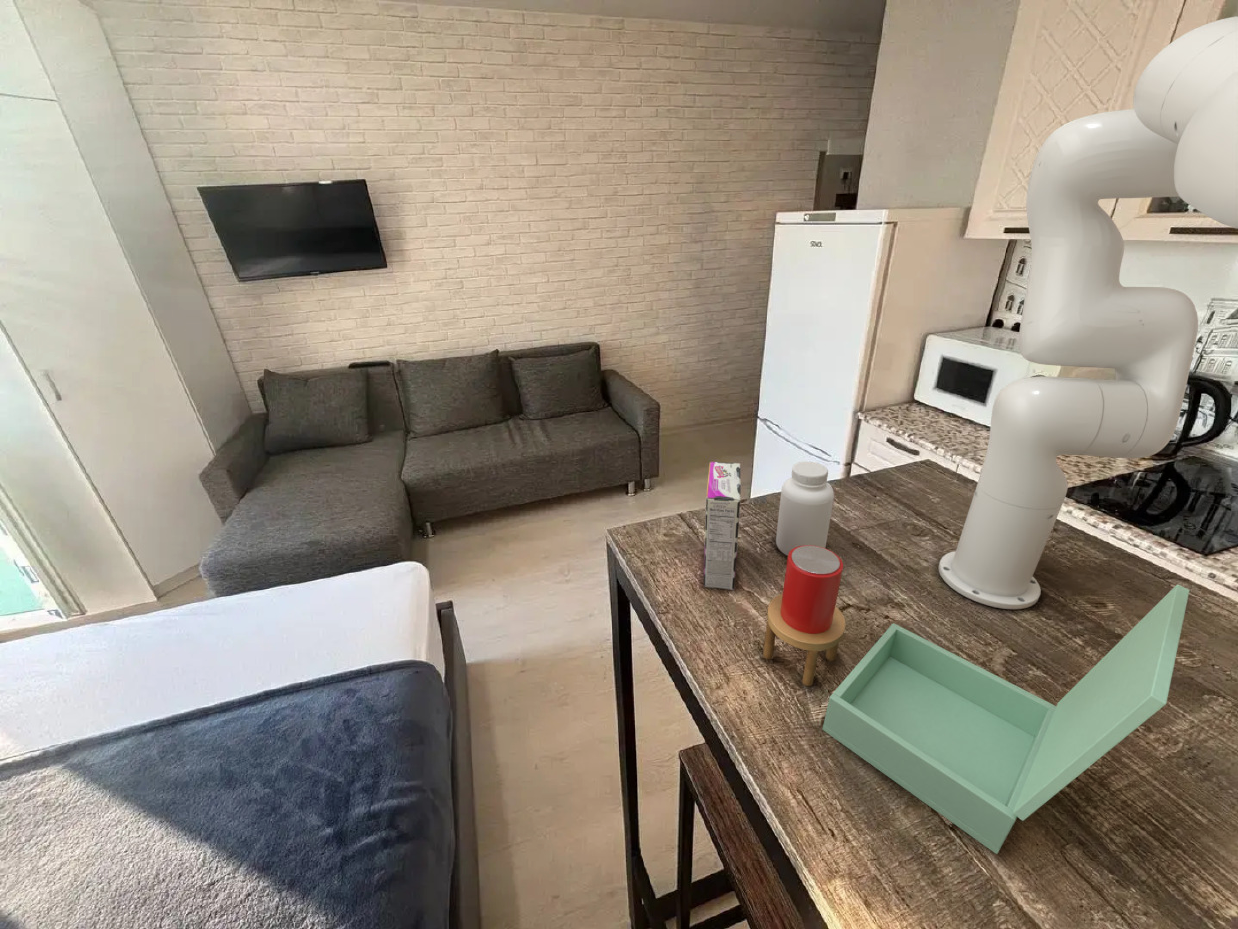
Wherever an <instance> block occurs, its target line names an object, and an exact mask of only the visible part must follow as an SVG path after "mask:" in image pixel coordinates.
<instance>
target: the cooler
mask: <svg viewBox="0 0 1238 929" xmlns="http://www.w3.org/2000/svg"><path fill="white" fill-rule="evenodd" d="M1056 706H1057V705H1054V704H1052V703H1051V702H1049V701H1047V700H1045V699H1043V698H1041V697H1039V696H1037V695H1035V694H1033V693H1031V692H1029V691H1027V690H1025V689H1023V688H1021V687H1019V686H1017V685H1015V684H1013V683H1012V682H1010V681H1008V680H1006V679H1004V678H1002V677H1000V676H998V675H996V674H994V673H992V672H989V671H988V670H987V669H984V668H982V667H980V666H979V665H977V664H974V663H972V662H970V661H969V660H966V659H964V658H963V657H961V656H960V655H959V656H958V655H957V654H955V653H953V652H952V651H949V650H947V649H945V648H943V647H941V646H939V645H937V644H935V643H933V642H931V641H929V640H927V639H926V638H923V637H921V636H920V635H918V634H916V633H914V632H912V631H910V630H908V629H906V628H904V627H902V626H901V625H898V624H896V623H894V622H893V623H891V625H890V626H889V627H888V628H887V629H886V631H885V632H884V633H883V634H882V635H881V636H880V638H879V639H878V640H877V641H876V642H875V643H874V645H873V646H872V647H870V649H869V650H868V652H867V653H866V654H864V656H863V657H862V658H861V659H860V660H859V662H858V663H857V664H856V665H855V666H854V667H853V669H852V670H851V672H850V673H849V674H848V675H847V676H846V677H845V679H843V680H842V682H841V683H840V684H839V685H838V686H837V688H836V689H835V690H834V691H833V692H832V693H831V694H830V696H829V698H828V702H827V707H826V711H825V717H824V720H823V725H822V731H824V732H825V733H826V734H827V735H829V736H831V737H832V738H833V739H834V740H836V741H838V742H839V743H840V744H842V745H843V746H844V747H846V748H847V749H849V750H850V751H851V752H853V753H854V754H856V755H857V756H858V757H860V758H862V759H863V760H864V761H865V762H867V763H868V764H870V765H871V766H872V767H874V768H875V769H876V770H878V771H880V772H881V774H884V775H885V776H886V777H888V778H889V779H891V780H892V781H894V782H895V783H896V784H897V785H899V786H900V787H902V788H903V789H904V790H906V791H907V792H908V793H910V794H912V795H913V796H914V797H916V798H917V799H918V800H920V801H921V802H923V803H924V804H925V805H927V806H928V807H930V808H931V809H932V810H934V811H935V812H937V813H938V814H940V815H941V816H942V817H943V818H945V819H946V820H947V821H949V822H950V823H952V824H954V825H955V826H956V827H958V828H959V829H960V830H962V831H963V832H965V833H966V834H967V835H969V836H970V837H972V838H973V839H974V840H976V841H977V842H979V843H980V844H981V845H983V846H984V847H986V849H989V850H990V851H991V852H993V853H994V854H995V855H998V854H999V852H1000V850H1001V848H1002V846H1003V845H1004V843H1005V841H1006V839H1007V837H1008V836H1009V833H1010V832H1011V830H1012V829H1013V826H1014V825H1015V822H1016V821H1017V818H1018V817H1017V816H1016V815H1014V814H1013V811H1014V808H1015V806H1016V803H1017V801H1018V799H1019V796H1020V794H1021V791H1022V789H1023V786H1024V784H1025V782H1026V779H1027V777H1028V774H1029V772H1030V770H1031V767H1032V765H1033V762H1034V760H1035V757H1036V755H1037V753H1038V750H1039V748H1040V745H1041V743H1042V740H1043V738H1044V736H1045V733H1046V731H1047V728H1048V726H1049V723H1050V721H1051V719H1052V716H1053V714H1054V711H1055V709H1056Z"/></svg>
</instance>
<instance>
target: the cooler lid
mask: <svg viewBox="0 0 1238 929" xmlns="http://www.w3.org/2000/svg"><path fill="white" fill-rule="evenodd" d="M1189 594H1190V589H1189V588H1186V587H1184V586H1182V585H1180V584H1176V585H1174V587H1172V589H1171V590H1169V592H1168V593H1167V594H1166V595H1165V596H1164V597H1163V598H1161V600H1160V601H1159V602H1158V603H1156V605H1155V606H1153V608H1151V610H1150V611H1149V612H1148V613H1147V614H1145V615H1144V617H1142V618H1141V619H1140V620H1139V622H1138V623H1136V625H1134V626H1133V628H1131V629H1130V631H1128V632H1127V634H1125V636H1124V637H1122V638H1121V639H1120V640H1119V642H1117V643H1116V644H1115V645H1114V646H1113V647H1112V648H1111V649H1110V650H1109V652H1107V653H1106V654H1105V655H1104V657H1102V658H1101V659H1100V660H1099V661H1098V662H1097V663H1096V664H1095V665H1094V666H1093V667H1092V668H1091V669H1090V670H1089V671H1088V672H1087V673H1086V674H1085V675H1084V676H1083V677H1082V678H1081V679H1080V680H1079V681H1078V682H1077V683H1076V684H1075V685H1074V686H1073V687H1072V688H1071V689H1070V690H1069V691H1068V692H1067V693H1066V694H1065V695H1064V696H1063V697H1062V698H1061V699H1060V700H1059V701H1058V702H1057V703H1056V705H1055V706H1056V709H1055V711H1054V714H1053V716H1052V719H1051V721H1050V723H1049V726H1048V728H1047V731H1046V733H1045V736H1044V738H1043V740H1042V743H1041V745H1040V748H1039V750H1038V753H1037V755H1036V757H1035V760H1034V762H1033V765H1032V767H1031V770H1030V772H1029V774H1028V777H1027V779H1026V782H1025V784H1024V786H1023V789H1022V791H1021V794H1020V796H1019V799H1018V801H1017V803H1016V806H1015V808H1014V811H1013V814H1014V815H1016V816H1017V818H1018V819H1019V820H1021V822H1025V820H1026V819H1027V818H1029V817H1030V816H1031V815H1033V814H1034V813H1035V812H1036V811H1037V810H1038V809H1040V808H1041V807H1043V805H1045V804H1046V803H1047V802H1049V800H1050V799H1052V798H1054V797H1055V796H1056V795H1057V794H1058V793H1060V792H1061V791H1062V790H1063V789H1064V788H1065V787H1067V786H1068V785H1069V784H1070V783H1072V782H1073V781H1074V780H1075V779H1076V778H1078V777H1079V776H1080V775H1082V774H1083V773H1084V772H1085V771H1086V770H1088V769H1089V768H1090V767H1091V766H1092V765H1093V764H1095V763H1097V761H1099V760H1100V759H1101V758H1102V757H1104V756H1105V755H1106V754H1107V753H1108V752H1110V751H1111V750H1112V749H1113V748H1115V747H1116V746H1117V745H1118V744H1119V743H1121V742H1122V741H1123V740H1124V739H1125V738H1127V737H1128V736H1129V735H1131V734H1132V733H1133V732H1134V731H1135V730H1137V729H1138V728H1139V727H1140V726H1142V725H1143V724H1144V723H1145V722H1146V721H1148V720H1149V719H1150V718H1151V717H1152V716H1154V715H1155V714H1156V713H1157V712H1159V711H1160V710H1161V709H1162V708H1164V707H1165V706H1166V705H1167V704H1168V703H1167V702H1168V698H1169V694H1170V687H1171V683H1172V677H1173V672H1174V668H1175V664H1176V663H1175V662H1176V658H1177V653H1178V648H1179V644H1180V638H1181V633H1182V629H1183V624H1184V619H1185V613H1186V610H1187V604H1188V599H1189Z"/></svg>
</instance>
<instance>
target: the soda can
mask: <svg viewBox="0 0 1238 929" xmlns="http://www.w3.org/2000/svg"><path fill="white" fill-rule="evenodd" d="M786 559H787V560H786V567H785V572H784V573H785V574H784V582H783V588H782V593H783V595H782V602H781V610H780V613H781V616H782V618H783V620H784V621H785V623H786V624H788V625H789V626H790V627H792V628H793V629H795V630H797V631H800V632H803V633H808V634H818V633H822V632H825V631H826V630H828V629H829V628H830V627H831V625H832V620H833V615H834V610H835V606H836V604H837V599H838V596H839V590H840V585H841V580H842V576H843V570H844V563H843V560H842V558H840V556H839V555H838V554H837V553H835V552H833V551H832V550H830V549H828V548H826V547H825V548H823V547H819V546H813V545H803V546H798V547H795V548H793V549H792V550H791V551H790V552H789V554H788V556H787V558H786Z"/></svg>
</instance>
